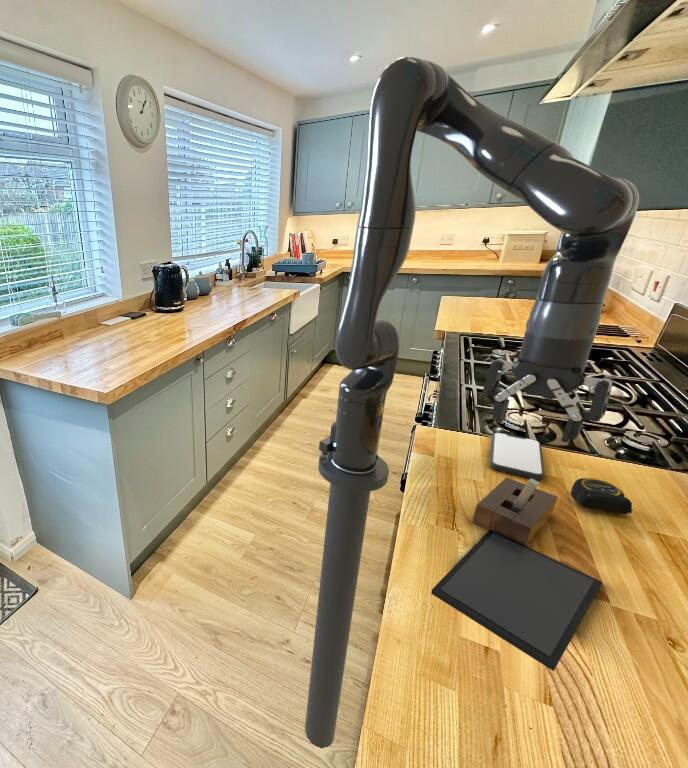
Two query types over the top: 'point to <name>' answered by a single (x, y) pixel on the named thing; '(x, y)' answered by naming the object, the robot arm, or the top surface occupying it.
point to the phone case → (516, 456)
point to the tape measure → (600, 496)
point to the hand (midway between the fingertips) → (530, 430)
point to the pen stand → (509, 523)
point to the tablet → (519, 595)
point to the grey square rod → (524, 495)
